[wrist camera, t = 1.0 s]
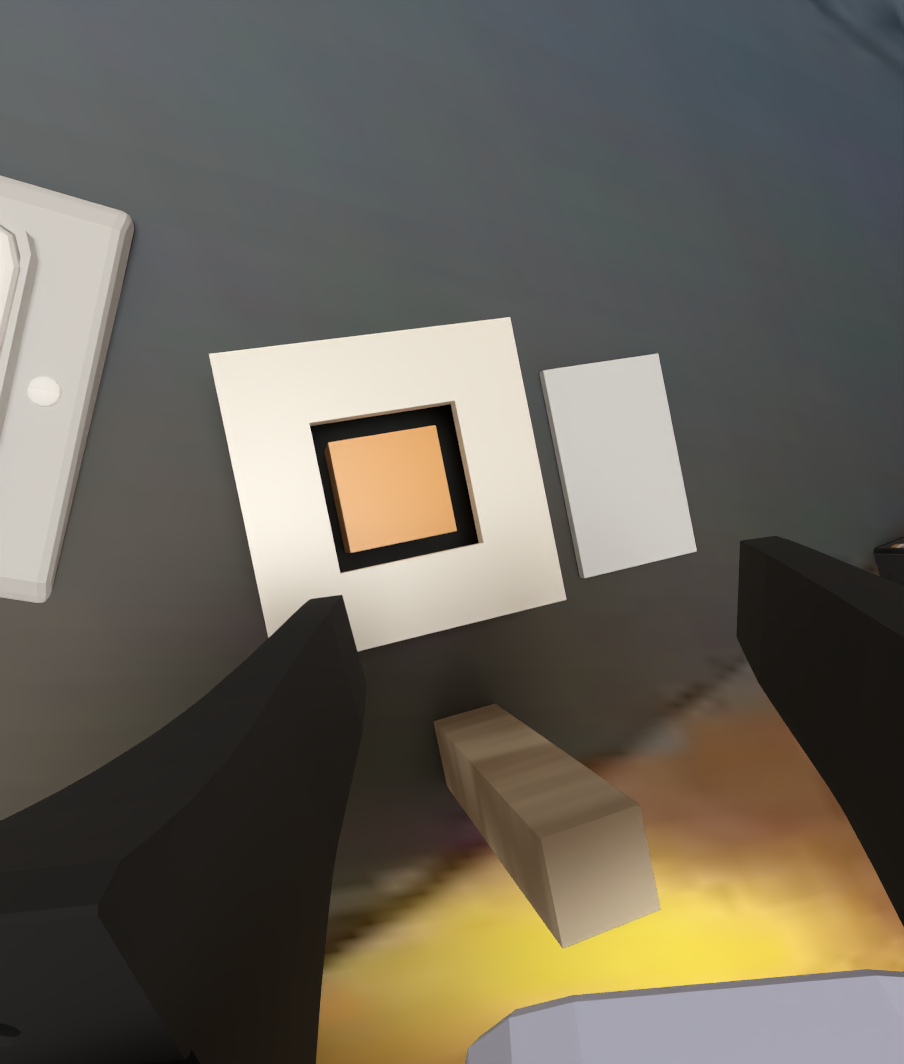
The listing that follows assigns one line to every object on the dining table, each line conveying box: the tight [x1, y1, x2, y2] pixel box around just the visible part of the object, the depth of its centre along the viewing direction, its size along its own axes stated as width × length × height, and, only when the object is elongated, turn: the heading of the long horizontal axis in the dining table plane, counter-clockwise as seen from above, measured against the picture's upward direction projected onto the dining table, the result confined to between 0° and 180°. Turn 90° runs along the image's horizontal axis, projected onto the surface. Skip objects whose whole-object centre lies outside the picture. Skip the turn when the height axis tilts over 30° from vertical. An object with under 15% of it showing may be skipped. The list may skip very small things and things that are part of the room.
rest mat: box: [539, 354, 697, 578], centre depth 25 cm, size 8×5×1 cm, turn 12°
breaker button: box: [324, 425, 457, 553], centre depth 21 cm, size 3×3×2 cm
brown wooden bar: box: [434, 704, 661, 949], centre depth 19 cm, size 2×2×10 cm
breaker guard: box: [209, 317, 566, 652], centre depth 21 cm, size 9×9×4 cm
